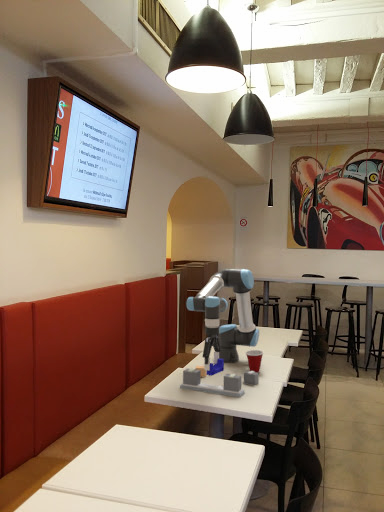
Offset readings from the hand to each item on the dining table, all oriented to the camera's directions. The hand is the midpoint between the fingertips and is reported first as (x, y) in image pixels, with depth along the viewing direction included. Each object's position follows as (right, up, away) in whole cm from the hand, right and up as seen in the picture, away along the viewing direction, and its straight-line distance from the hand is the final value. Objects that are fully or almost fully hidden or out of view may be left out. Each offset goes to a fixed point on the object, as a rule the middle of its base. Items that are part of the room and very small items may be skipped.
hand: (211, 367), depth 239 cm
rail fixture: (0, -13, 0) cm, 13 cm away
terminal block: (-5, -12, +28) cm, 31 cm away
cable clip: (+1, -3, -1) cm, 3 cm away
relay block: (+22, -12, +14) cm, 29 cm away
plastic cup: (+27, -12, +37) cm, 47 cm away
